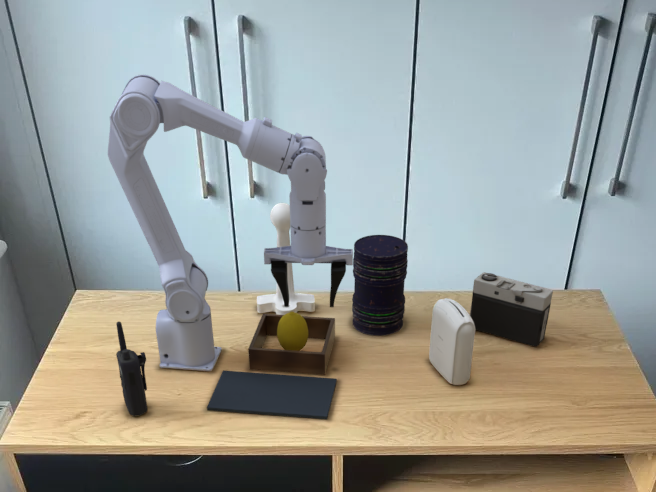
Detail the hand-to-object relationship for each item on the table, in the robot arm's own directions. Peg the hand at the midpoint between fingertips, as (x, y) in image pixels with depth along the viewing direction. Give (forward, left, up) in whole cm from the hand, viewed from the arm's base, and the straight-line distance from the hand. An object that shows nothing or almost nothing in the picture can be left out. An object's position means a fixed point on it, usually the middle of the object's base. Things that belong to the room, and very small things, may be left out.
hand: (309, 304), depth 146 cm
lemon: (-3, +1, -10) cm, 11 cm away
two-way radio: (-25, -20, -10) cm, 34 cm away
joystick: (-7, +17, -10) cm, 21 cm away
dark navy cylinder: (+11, +15, -10) cm, 21 cm away
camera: (+36, +16, -10) cm, 41 cm away
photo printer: (+25, -1, -10) cm, 27 cm away
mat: (-4, -13, -10) cm, 17 cm away
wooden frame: (-3, +1, -10) cm, 11 cm away
